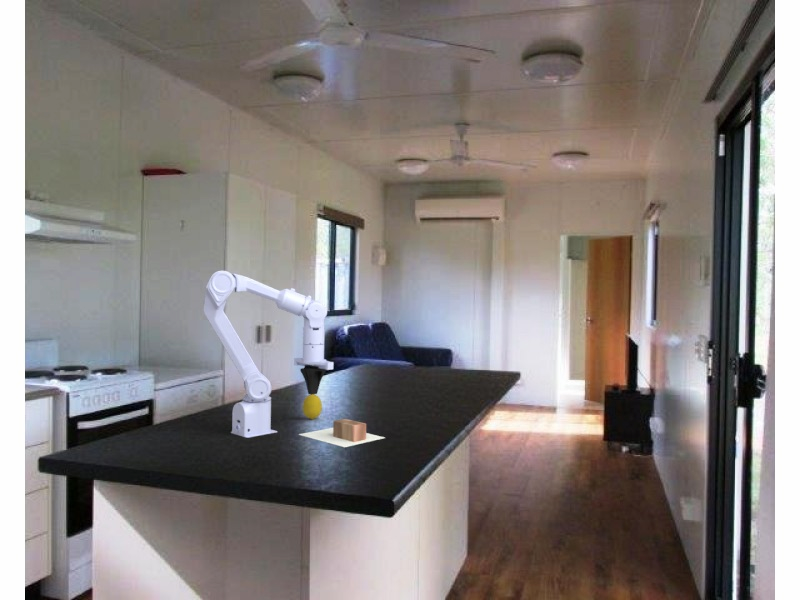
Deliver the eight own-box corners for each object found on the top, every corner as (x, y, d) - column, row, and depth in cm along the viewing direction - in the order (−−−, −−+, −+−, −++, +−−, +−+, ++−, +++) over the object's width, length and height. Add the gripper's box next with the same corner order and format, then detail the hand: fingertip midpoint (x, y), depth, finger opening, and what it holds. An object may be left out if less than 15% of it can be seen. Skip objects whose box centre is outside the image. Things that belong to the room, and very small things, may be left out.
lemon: (323, 419, 172) (323, 392, 172) (318, 422, 166) (319, 395, 166) (305, 418, 172) (305, 391, 172) (300, 422, 167) (300, 394, 167)
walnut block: (333, 436, 148) (354, 442, 142) (333, 421, 148) (354, 426, 142) (344, 434, 151) (366, 439, 145) (345, 418, 151) (366, 423, 145)
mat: (344, 449, 137) (344, 447, 137) (298, 436, 149) (298, 434, 149) (385, 439, 148) (385, 437, 148) (338, 428, 160) (338, 426, 160)
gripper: (342, 345, 155) (341, 395, 155) (308, 341, 164) (307, 389, 164) (322, 346, 149) (321, 398, 149) (288, 342, 159) (287, 391, 159)
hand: (312, 393), depth 157 cm, fingers closed
